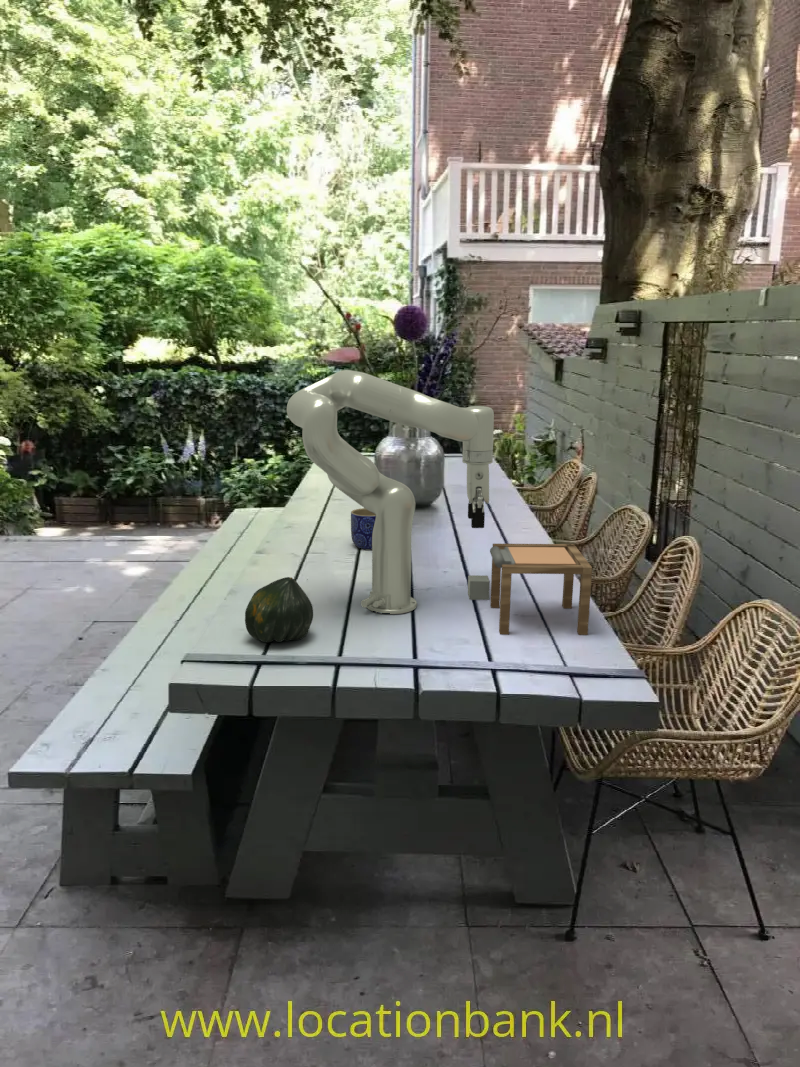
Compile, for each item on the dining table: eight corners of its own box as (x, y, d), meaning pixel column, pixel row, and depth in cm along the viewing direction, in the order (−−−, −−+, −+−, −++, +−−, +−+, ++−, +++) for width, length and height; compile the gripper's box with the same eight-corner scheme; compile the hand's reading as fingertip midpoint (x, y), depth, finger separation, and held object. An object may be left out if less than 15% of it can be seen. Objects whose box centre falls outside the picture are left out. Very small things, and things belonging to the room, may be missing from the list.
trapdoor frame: (587, 634, 197) (592, 567, 193) (500, 634, 197) (502, 567, 193) (570, 605, 216) (573, 544, 212) (490, 605, 216) (492, 543, 212)
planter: (387, 542, 273) (388, 508, 270) (383, 552, 262) (384, 516, 260) (353, 541, 274) (353, 507, 271) (348, 550, 263) (348, 515, 261)
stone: (488, 600, 220) (489, 581, 219) (469, 600, 220) (470, 581, 219) (486, 593, 225) (487, 575, 224) (467, 593, 225) (468, 575, 224)
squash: (226, 611, 194) (252, 572, 185) (280, 599, 204) (307, 562, 195) (253, 664, 189) (281, 627, 180) (307, 649, 199) (336, 613, 190)
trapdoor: (575, 571, 196) (576, 560, 196) (495, 570, 196) (496, 560, 196) (563, 554, 210) (564, 544, 209) (488, 553, 210) (489, 543, 209)
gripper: (496, 462, 207) (494, 531, 212) (488, 450, 224) (486, 515, 228) (465, 462, 207) (463, 531, 212) (459, 450, 224) (458, 515, 228)
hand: (475, 523), depth 220 cm, fingers open, 9 cm apart
